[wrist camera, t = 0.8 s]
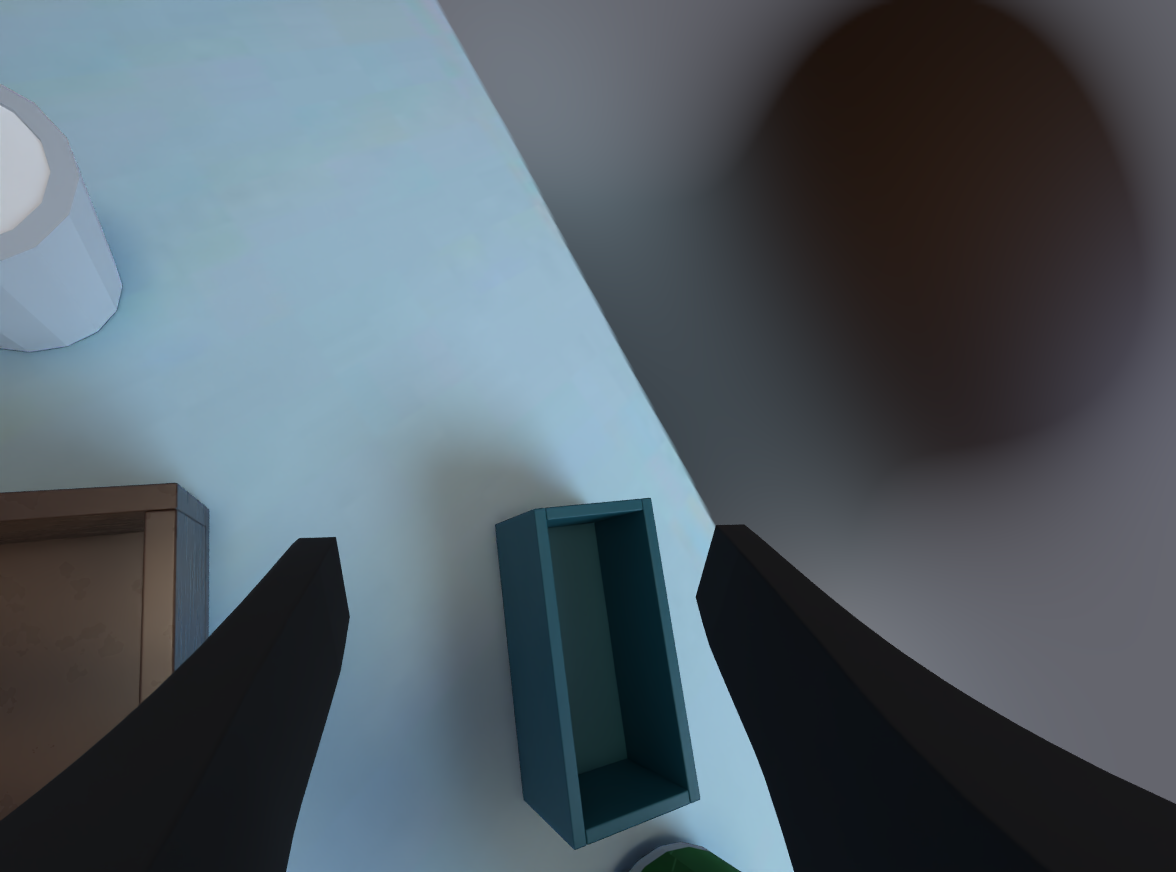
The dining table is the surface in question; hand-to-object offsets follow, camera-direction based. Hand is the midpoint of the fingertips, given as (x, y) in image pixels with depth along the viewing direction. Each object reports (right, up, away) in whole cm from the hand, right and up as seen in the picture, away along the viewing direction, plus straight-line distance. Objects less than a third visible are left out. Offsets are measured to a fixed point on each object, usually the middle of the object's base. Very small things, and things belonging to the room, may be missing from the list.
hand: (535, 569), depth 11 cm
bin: (0, -7, +16) cm, 17 cm away
